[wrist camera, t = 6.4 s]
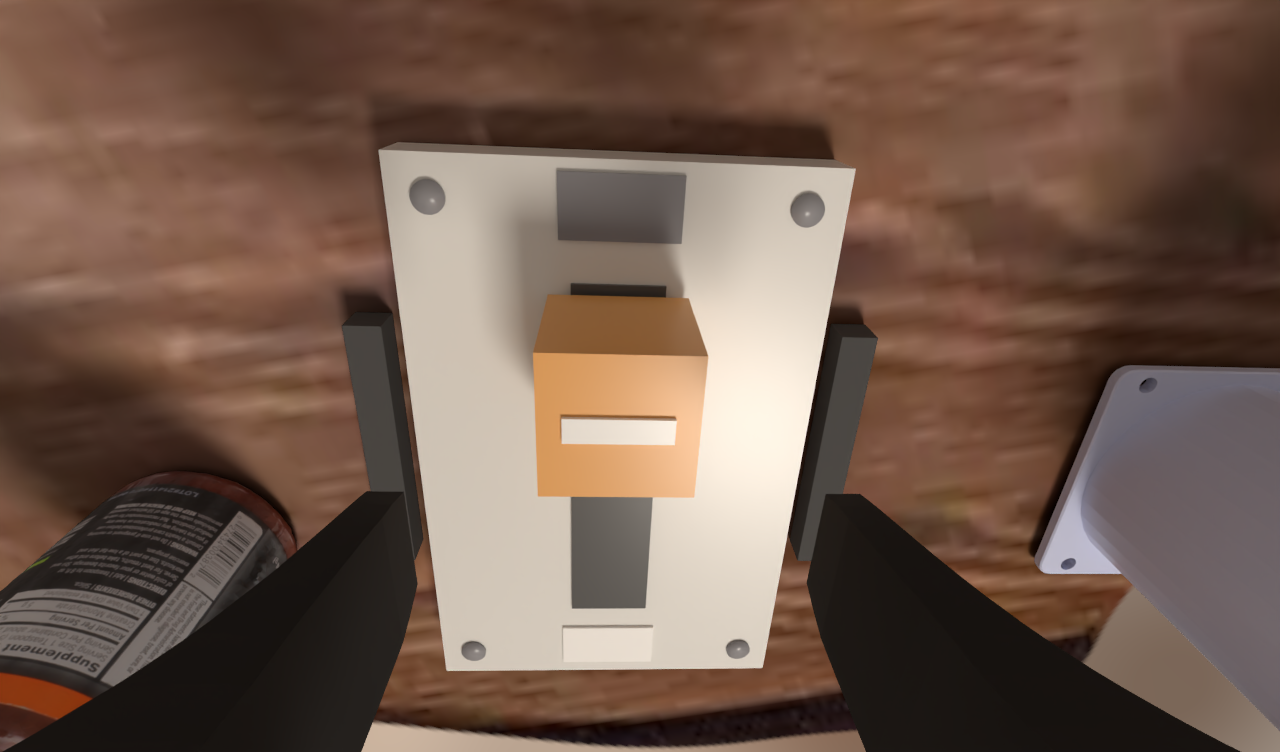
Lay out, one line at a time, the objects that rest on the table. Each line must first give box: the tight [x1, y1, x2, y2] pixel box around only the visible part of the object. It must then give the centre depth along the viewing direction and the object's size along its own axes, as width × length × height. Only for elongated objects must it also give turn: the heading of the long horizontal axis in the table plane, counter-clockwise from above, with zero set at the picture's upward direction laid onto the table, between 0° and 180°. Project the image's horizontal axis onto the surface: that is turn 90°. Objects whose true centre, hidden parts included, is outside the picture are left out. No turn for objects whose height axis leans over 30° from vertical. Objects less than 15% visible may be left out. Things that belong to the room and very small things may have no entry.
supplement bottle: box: [0, 471, 297, 752], centre depth 16 cm, size 6×6×11 cm
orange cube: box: [533, 294, 708, 498], centre depth 15 cm, size 4×4×4 cm
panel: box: [378, 142, 856, 671], centre depth 19 cm, size 11×17×2 cm, turn 177°
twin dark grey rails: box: [342, 312, 878, 561], centre depth 19 cm, size 14×8×1 cm, turn 87°
